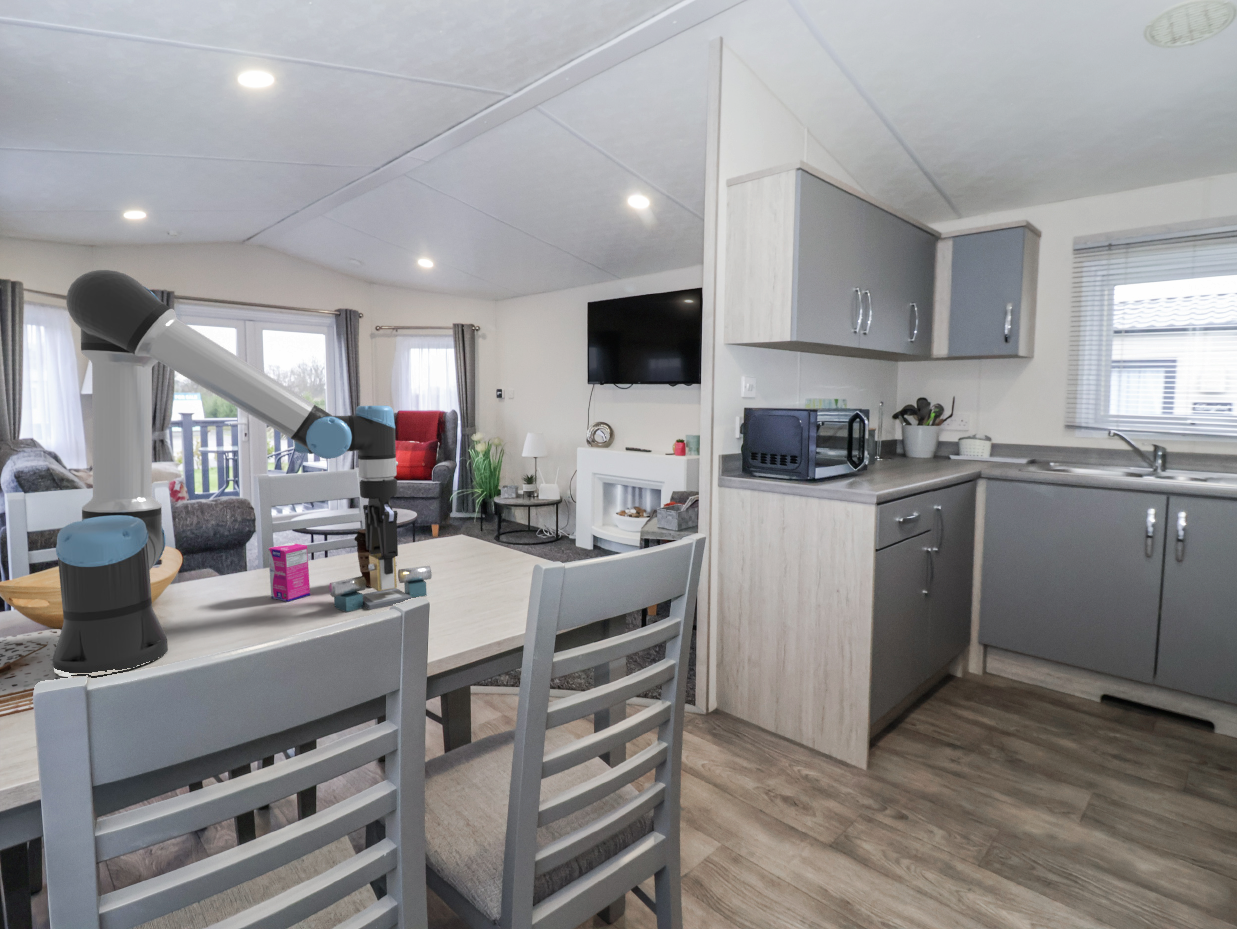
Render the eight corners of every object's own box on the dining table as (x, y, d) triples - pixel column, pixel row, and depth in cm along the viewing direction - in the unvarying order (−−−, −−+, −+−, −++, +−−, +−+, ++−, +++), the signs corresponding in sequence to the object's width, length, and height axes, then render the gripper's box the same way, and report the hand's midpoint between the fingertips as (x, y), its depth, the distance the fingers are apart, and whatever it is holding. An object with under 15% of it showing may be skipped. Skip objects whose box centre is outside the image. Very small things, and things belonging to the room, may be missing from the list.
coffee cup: (369, 591, 149) (366, 534, 147) (349, 585, 154) (346, 530, 152) (402, 582, 155) (400, 528, 154) (382, 577, 160) (380, 524, 159)
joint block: (374, 592, 138) (372, 559, 137) (367, 587, 141) (365, 555, 141) (400, 586, 142) (398, 555, 141) (392, 582, 145) (391, 551, 144)
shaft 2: (402, 599, 142) (401, 572, 142) (397, 593, 147) (396, 567, 146) (433, 594, 146) (432, 568, 145) (427, 589, 150) (426, 563, 149)
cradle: (369, 609, 135) (369, 604, 135) (354, 599, 142) (354, 595, 142) (411, 601, 141) (411, 596, 141) (395, 592, 148) (395, 587, 148)
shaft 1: (339, 613, 133) (338, 584, 132) (327, 609, 136) (326, 580, 135) (369, 606, 138) (368, 578, 137) (357, 601, 141) (356, 574, 140)
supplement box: (269, 598, 143) (266, 547, 142) (294, 591, 148) (291, 542, 147) (287, 602, 141) (284, 550, 139) (311, 595, 146) (308, 544, 145)
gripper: (412, 480, 135) (416, 591, 137) (380, 473, 148) (385, 574, 150) (375, 483, 130) (380, 598, 132) (346, 476, 143) (351, 580, 146)
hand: (383, 585), depth 141 cm, fingers closed on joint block, 4 cm apart
